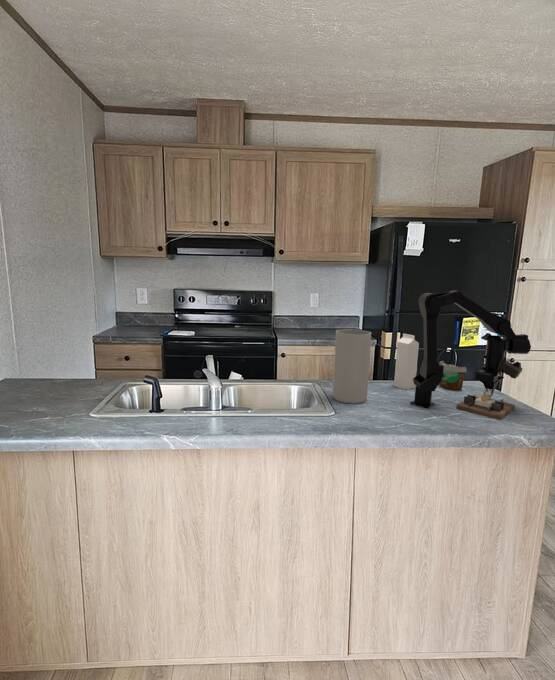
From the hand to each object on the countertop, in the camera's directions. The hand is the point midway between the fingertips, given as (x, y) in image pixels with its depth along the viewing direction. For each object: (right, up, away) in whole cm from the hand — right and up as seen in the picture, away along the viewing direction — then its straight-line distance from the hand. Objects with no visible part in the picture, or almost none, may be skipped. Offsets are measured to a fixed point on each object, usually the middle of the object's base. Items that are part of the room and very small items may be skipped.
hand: (489, 396), depth 141 cm
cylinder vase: (-49, -2, +6) cm, 49 cm away
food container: (-6, 0, +23) cm, 24 cm away
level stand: (-3, -4, -2) cm, 6 cm away
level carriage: (-3, -3, -3) cm, 5 cm away
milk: (-23, 0, +22) cm, 32 cm away
